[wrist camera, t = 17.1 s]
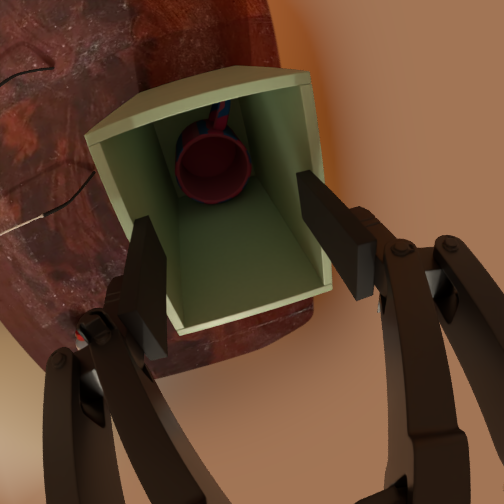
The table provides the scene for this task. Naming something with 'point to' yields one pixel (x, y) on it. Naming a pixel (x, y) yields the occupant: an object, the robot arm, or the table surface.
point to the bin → (226, 213)
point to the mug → (212, 159)
